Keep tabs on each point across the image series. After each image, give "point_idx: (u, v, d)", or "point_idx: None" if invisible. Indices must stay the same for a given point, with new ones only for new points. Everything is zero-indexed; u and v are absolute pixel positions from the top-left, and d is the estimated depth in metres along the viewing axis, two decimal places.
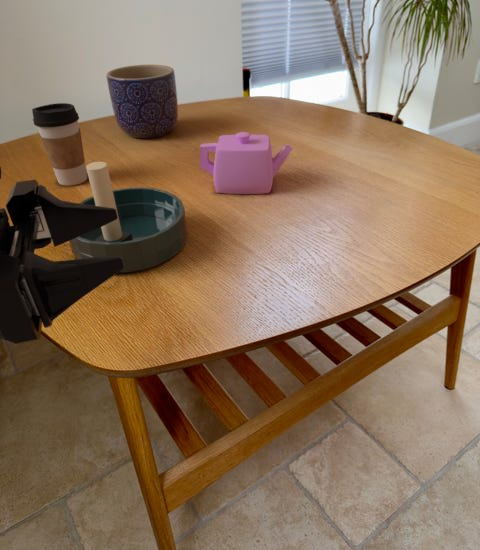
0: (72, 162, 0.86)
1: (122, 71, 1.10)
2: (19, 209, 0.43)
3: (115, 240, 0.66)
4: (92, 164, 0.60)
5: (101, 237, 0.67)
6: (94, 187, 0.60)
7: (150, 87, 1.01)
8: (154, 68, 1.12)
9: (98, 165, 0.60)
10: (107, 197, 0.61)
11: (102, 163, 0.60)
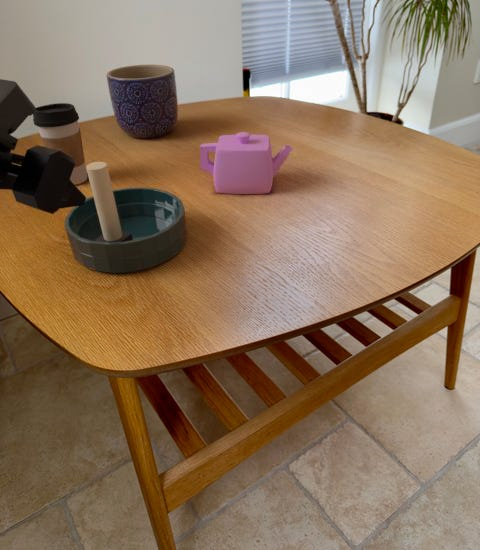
0: None
1: (122, 71, 1.10)
2: None
3: (115, 240, 0.66)
4: (92, 164, 0.60)
5: (101, 237, 0.67)
6: (94, 187, 0.60)
7: (150, 87, 1.01)
8: (154, 68, 1.12)
9: (98, 165, 0.60)
10: (107, 197, 0.61)
11: (102, 163, 0.60)
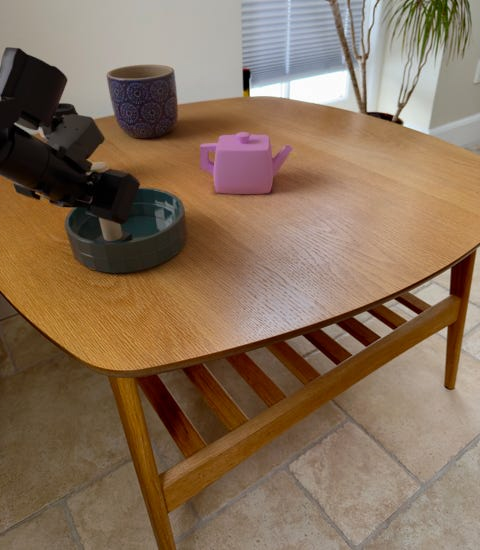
0: None
1: (122, 71, 1.10)
2: None
3: (115, 240, 0.66)
4: (92, 164, 0.60)
5: (101, 237, 0.67)
6: None
7: (150, 87, 1.01)
8: (154, 68, 1.12)
9: (98, 165, 0.60)
10: None
11: (102, 163, 0.60)
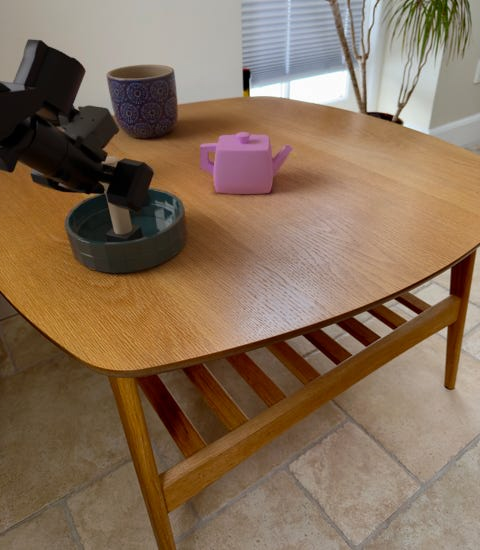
0: None
1: (122, 71, 1.10)
2: None
3: (126, 233, 0.67)
4: None
5: (111, 231, 0.68)
6: None
7: (150, 87, 1.01)
8: (154, 68, 1.12)
9: (110, 159, 0.61)
10: None
11: (113, 157, 0.62)
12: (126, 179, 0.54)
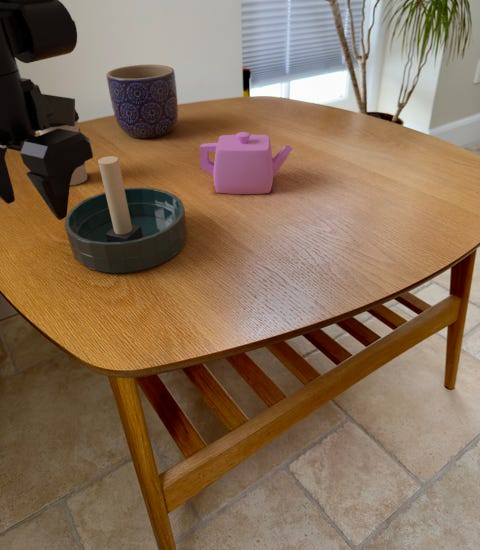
0: None
1: (122, 71, 1.10)
2: None
3: (126, 233, 0.67)
4: (103, 159, 0.62)
5: (111, 231, 0.68)
6: (107, 181, 0.62)
7: (150, 87, 1.01)
8: (154, 68, 1.12)
9: (110, 159, 0.61)
10: (119, 191, 0.63)
11: (113, 157, 0.62)
12: (59, 137, 0.44)
